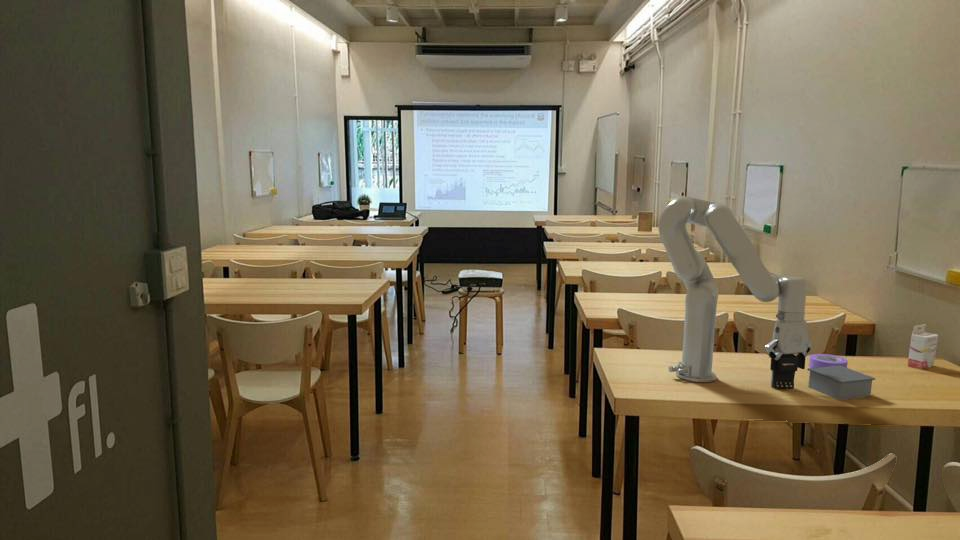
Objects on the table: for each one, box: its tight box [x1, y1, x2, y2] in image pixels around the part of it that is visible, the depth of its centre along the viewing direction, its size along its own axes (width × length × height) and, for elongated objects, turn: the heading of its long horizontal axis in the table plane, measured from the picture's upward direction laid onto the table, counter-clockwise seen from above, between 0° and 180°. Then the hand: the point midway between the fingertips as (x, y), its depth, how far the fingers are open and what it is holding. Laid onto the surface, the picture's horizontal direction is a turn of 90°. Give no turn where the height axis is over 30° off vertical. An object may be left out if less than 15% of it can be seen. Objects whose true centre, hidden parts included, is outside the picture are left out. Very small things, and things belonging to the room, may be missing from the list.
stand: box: [807, 365, 876, 401], centre depth 200 cm, size 13×13×6 cm
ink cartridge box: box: [907, 323, 939, 370], centre depth 227 cm, size 9×5×15 cm, turn 120°
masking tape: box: [808, 353, 848, 368], centre depth 224 cm, size 12×12×4 cm
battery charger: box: [770, 353, 798, 390], centre depth 202 cm, size 7×4×11 cm, turn 89°
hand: (787, 369), depth 201 cm, fingers open, 9 cm apart
